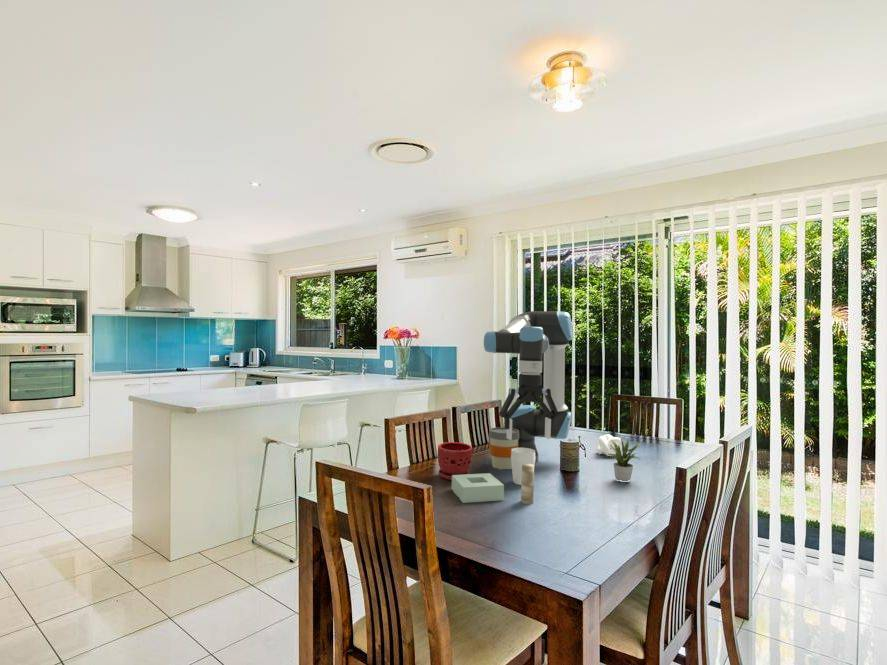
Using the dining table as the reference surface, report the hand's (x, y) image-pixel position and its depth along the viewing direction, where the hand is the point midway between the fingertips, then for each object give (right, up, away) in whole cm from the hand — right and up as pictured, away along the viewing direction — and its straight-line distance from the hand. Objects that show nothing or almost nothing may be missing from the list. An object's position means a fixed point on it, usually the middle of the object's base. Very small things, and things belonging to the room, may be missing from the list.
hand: (528, 438), depth 168 cm
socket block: (-17, -20, +6) cm, 27 cm away
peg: (0, -21, 0) cm, 21 cm away
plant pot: (-24, -20, +26) cm, 41 cm away
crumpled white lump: (+47, -22, +67) cm, 85 cm away
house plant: (+40, -22, +25) cm, 53 cm away
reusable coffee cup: (-3, -21, +43) cm, 48 cm away
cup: (+1, -21, +21) cm, 30 cm away
